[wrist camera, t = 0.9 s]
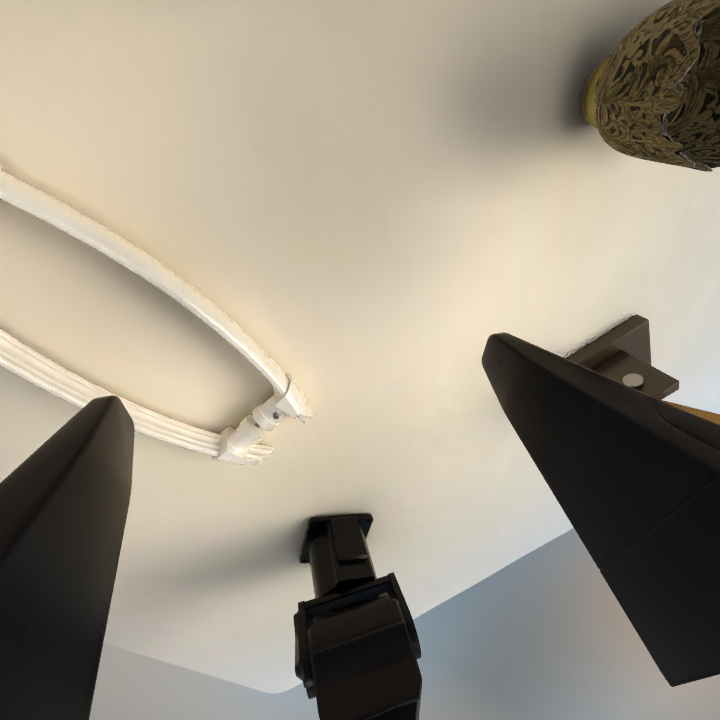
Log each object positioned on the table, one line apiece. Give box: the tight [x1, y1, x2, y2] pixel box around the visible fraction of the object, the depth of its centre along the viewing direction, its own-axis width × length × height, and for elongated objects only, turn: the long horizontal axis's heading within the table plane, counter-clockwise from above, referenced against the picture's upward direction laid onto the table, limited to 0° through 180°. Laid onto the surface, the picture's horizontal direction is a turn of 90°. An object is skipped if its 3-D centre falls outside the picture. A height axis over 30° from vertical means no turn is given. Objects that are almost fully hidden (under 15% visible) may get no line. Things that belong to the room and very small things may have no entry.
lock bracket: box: [567, 315, 679, 400], centre depth 32 cm, size 10×8×6 cm
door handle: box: [0, 164, 313, 465], centre depth 20 cm, size 3×10×25 cm
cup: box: [582, 0, 720, 171], centre depth 18 cm, size 8×7×8 cm
